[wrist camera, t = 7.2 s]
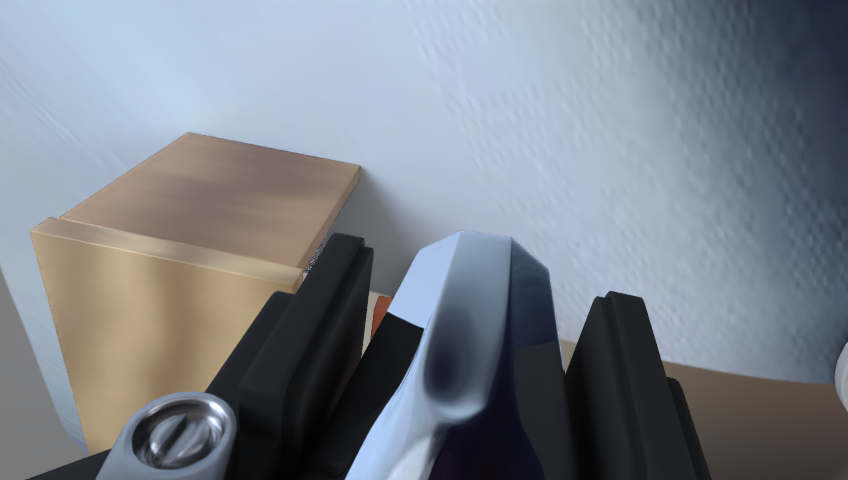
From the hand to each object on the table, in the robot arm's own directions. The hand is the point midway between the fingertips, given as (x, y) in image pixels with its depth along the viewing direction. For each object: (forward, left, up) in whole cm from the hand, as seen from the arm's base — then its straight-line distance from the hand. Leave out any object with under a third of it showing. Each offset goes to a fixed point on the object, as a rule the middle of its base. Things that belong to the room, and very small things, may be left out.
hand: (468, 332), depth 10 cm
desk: (+12, +16, -21) cm, 29 cm away
